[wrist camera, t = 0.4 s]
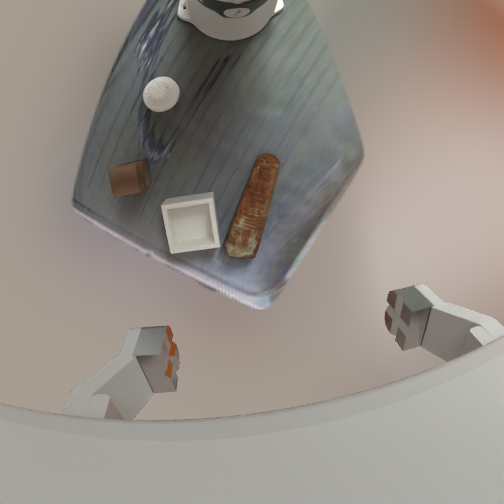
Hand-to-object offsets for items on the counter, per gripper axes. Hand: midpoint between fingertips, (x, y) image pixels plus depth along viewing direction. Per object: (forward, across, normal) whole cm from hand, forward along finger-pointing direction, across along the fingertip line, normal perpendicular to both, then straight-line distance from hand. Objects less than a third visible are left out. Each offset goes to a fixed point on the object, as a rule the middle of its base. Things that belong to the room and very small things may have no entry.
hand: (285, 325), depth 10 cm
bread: (+45, -2, +7) cm, 46 cm away
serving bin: (+45, +9, +8) cm, 46 cm away
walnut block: (+45, +18, -2) cm, 48 cm away
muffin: (+45, +10, -14) cm, 49 cm away
